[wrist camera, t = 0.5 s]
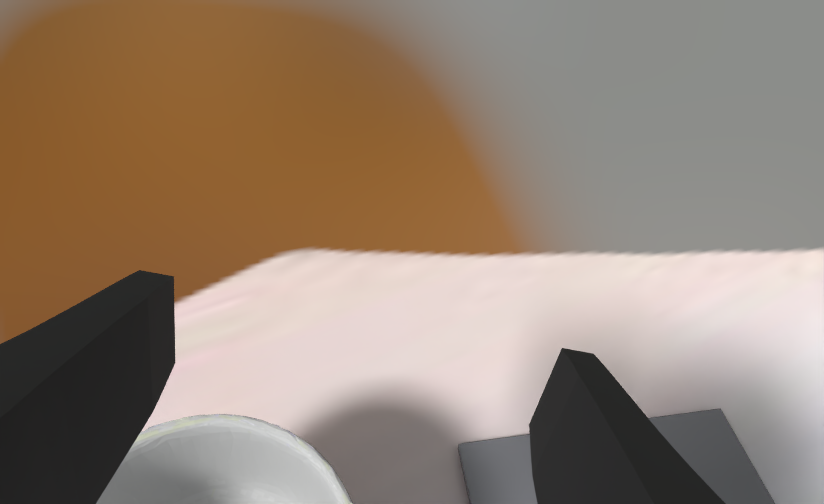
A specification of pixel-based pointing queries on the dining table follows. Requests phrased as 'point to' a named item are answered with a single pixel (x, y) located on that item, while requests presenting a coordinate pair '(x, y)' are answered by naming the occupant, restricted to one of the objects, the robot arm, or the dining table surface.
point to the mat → (687, 433)
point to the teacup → (223, 466)
